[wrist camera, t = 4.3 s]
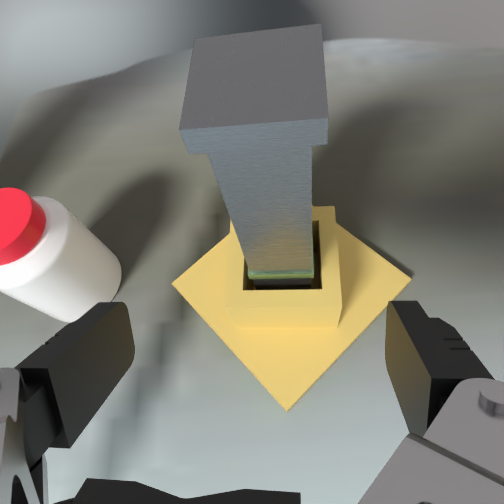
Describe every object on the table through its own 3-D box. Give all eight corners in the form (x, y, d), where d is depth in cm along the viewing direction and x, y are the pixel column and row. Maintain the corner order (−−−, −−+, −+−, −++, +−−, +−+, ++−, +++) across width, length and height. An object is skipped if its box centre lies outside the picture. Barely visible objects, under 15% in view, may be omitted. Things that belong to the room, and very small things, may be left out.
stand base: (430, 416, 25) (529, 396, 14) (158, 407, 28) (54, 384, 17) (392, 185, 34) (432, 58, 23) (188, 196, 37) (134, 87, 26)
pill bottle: (62, 340, 32) (-46, 296, 22) (31, 279, 35) (-74, 217, 26) (136, 286, 33) (65, 222, 24) (100, 231, 37) (25, 157, 27)
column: (318, 308, 29) (328, 117, 12) (254, 309, 29) (178, 130, 12) (315, 246, 31) (320, 15, 14) (256, 248, 32) (196, 30, 15)
